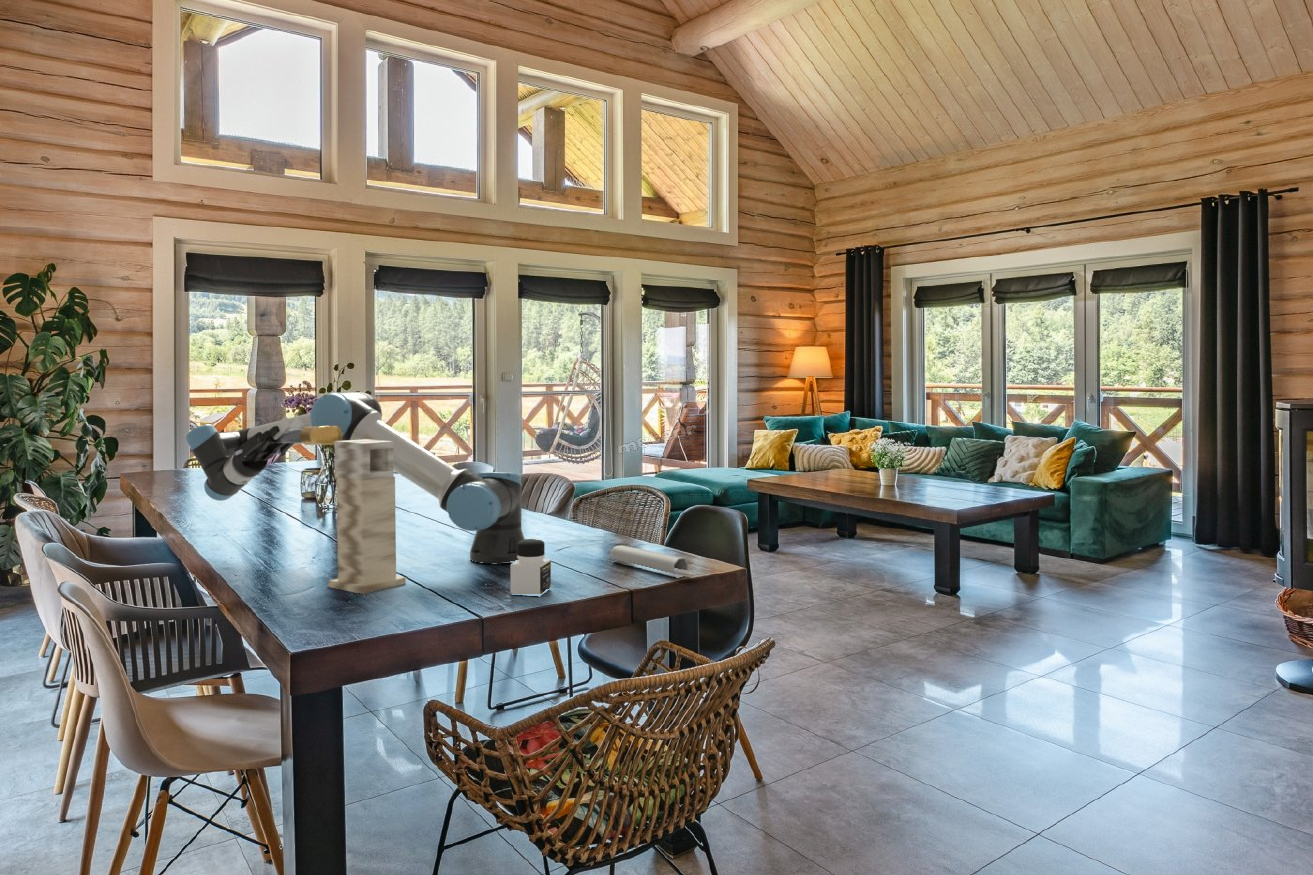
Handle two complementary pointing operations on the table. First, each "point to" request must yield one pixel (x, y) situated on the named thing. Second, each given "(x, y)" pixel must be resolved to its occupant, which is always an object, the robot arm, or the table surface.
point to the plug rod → (312, 436)
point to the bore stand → (365, 516)
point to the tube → (649, 558)
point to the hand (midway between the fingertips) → (294, 421)
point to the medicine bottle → (530, 568)
